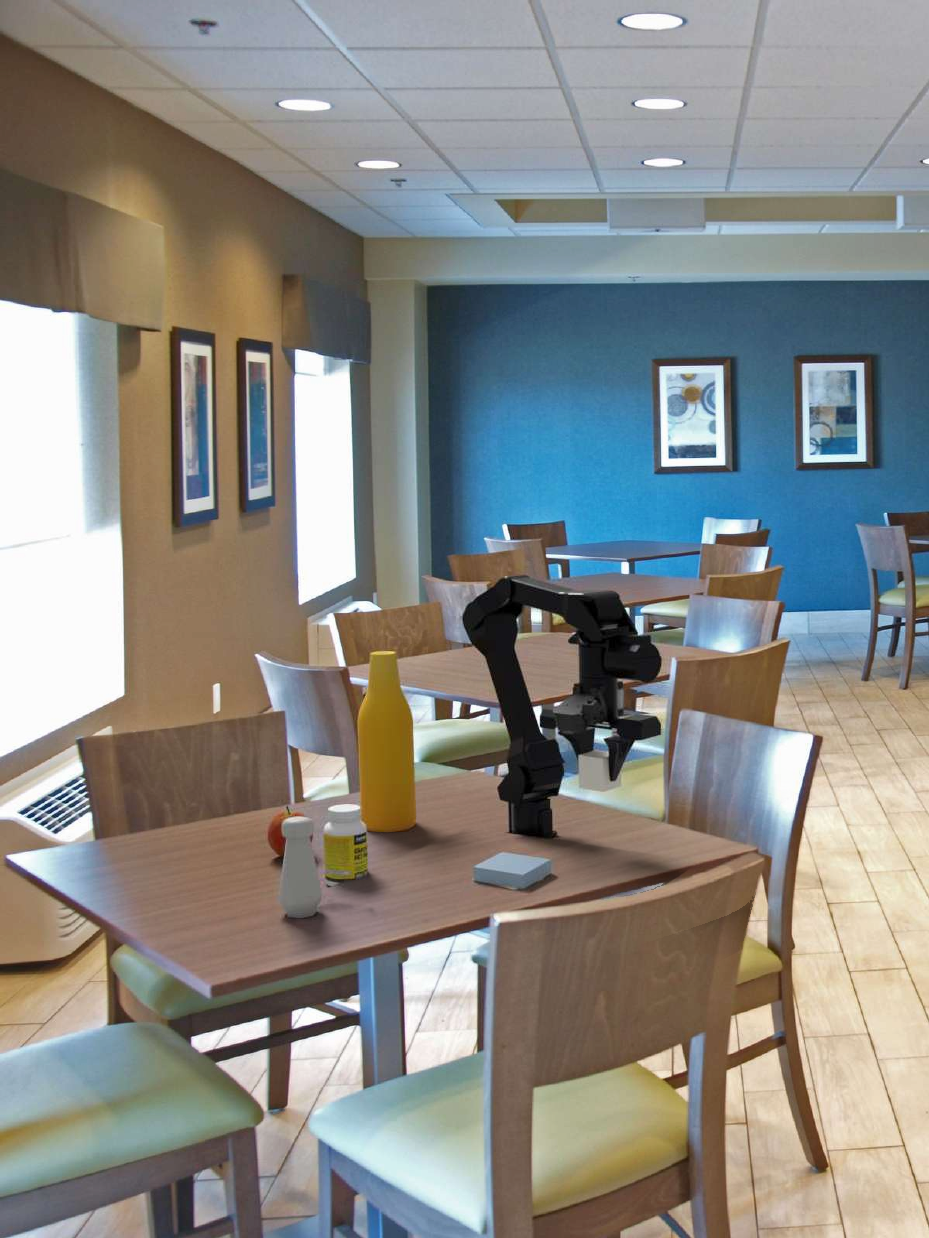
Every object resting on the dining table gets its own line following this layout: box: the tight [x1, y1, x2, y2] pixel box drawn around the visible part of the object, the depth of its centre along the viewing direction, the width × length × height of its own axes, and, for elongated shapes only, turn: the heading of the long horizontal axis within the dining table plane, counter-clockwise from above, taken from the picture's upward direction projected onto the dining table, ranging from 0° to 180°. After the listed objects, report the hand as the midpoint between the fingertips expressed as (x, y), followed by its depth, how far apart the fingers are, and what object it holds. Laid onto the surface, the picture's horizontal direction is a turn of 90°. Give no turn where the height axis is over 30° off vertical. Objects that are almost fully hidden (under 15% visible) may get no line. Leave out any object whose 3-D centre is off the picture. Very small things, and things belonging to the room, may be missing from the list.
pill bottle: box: [323, 803, 369, 887], centre depth 197 cm, size 6×6×11 cm
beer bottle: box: [357, 650, 417, 833], centre depth 227 cm, size 9×9×29 cm
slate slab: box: [472, 851, 552, 890], centre depth 193 cm, size 8×8×2 cm
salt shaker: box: [278, 816, 323, 919], centre depth 184 cm, size 6×6×13 cm
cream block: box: [577, 749, 622, 793], centre depth 205 cm, size 4×4×5 cm
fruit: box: [267, 805, 314, 858], centre depth 211 cm, size 7×7×8 cm
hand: (599, 778), depth 206 cm, fingers closed on cream block, 4 cm apart
